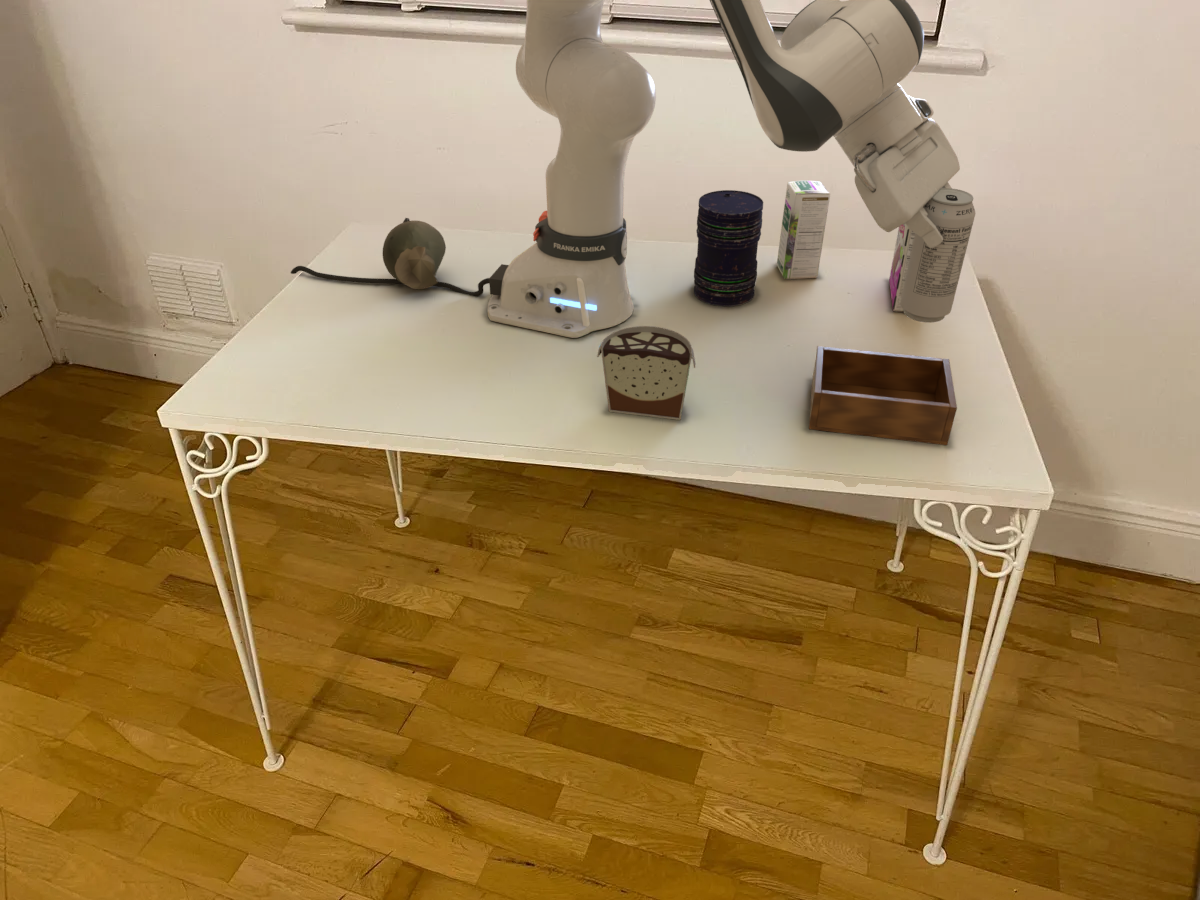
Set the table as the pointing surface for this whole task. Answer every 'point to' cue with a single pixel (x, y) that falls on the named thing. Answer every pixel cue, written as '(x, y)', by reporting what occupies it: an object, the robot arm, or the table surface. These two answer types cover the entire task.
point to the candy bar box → (900, 265)
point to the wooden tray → (882, 395)
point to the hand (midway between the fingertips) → (948, 232)
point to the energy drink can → (938, 258)
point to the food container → (646, 371)
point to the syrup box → (802, 229)
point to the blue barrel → (727, 247)
